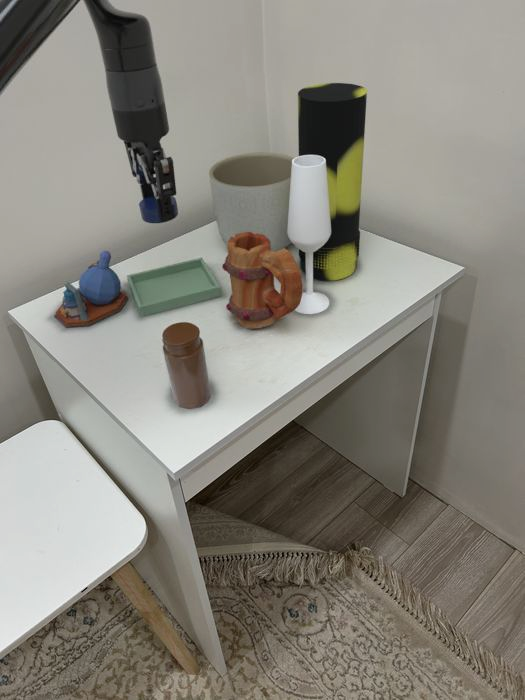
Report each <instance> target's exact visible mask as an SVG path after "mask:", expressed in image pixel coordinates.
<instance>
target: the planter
mask: <svg viewBox="0 0 525 700" xmlns="http://www.w3.org/2000/svg"><path fill="white" fill-rule="evenodd" d="M294 158H295V157H293V156H290V155H288V154H283V153H278V152H266V151H265V152H264V151H261V152H257V151H256V152H247V153H241V154H235V155H233V156H229V157H226V158H224V159H221V160H219V161H217V162H216V163H214V164H213V165H212V166H211V167H210V169H209V171H208V177H209V185H210V192H211V199H212V206H213V212H214V217H215V222H216V226H217V230H218V233H219V236H220V238H221V240H223V242H224V243H225V244H226V245H227V244H228V241H229V239H230V237H234V238H235V235H236V234H239V233H244V232H252V233H253V234H256V233H258V234H263V235H265V236H266V238H268V239H269V240H270V245H271V251H273V252H277V251H279V250H281V249H286V248H287V247H288V246H289V245H290V244H291V243H292V242H291V241H290V239H289V237H288V234H287V228H288V213H289V198H290V184H291V169H292V160H293V159H294Z"/></svg>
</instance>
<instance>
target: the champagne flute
mask: <svg viewBox="0 0 525 700" xmlns="http://www.w3.org/2000/svg"><path fill="white" fill-rule="evenodd" d="M293 158H294V159H293V160H292V169H291V184H290V198H289V213H288V228H287V234H288V237H289V239H290V241H291V243H292V244H293V246H295V248H297V249H298V250H299V249H300V250H302V251H303V252H306V274H305V291H302V298H301V302H300V304H299V306H298V307H297V308H296V309H295V310H294V312H296V313H299V314H304V315H313V314H314V315H315V314H319V313H321V312H324V311H325V310H326V309H328V308H329V306H330V299H329V298H328V297H327V296H326V295H325V294H323V293H321V292H318V291H314V278H313V252H315V251H317V250H318V249H319V248H320V247H322V246H323V245H324V244H325V243H326V242H327V241H328V239H329V237H330V235H331V221H330V209H329V196H328V183H327V170H326V160H325V158H324V157H321V156H318V155H303V156H299V155H298V156H296V157H293Z"/></svg>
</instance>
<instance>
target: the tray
mask: <svg viewBox="0 0 525 700" xmlns="http://www.w3.org/2000/svg"><path fill="white" fill-rule="evenodd" d="M126 280H127V284H128V286H129V289H130V292H131V294H132V295H131V296H132V297H133V299H134V302H135V305H136V308H137V311H138V313H139V316H140V318H143V317H147V316H150V315H155V314H158V313H162V312H166V311H170V310H174V309H178V308H182V307H185V306H190V305H192V304H197V303H201V302H204V301H209V300H212V299H217V298H219V297H222V290H221V286H220V284H219V282H218V281H217V280H216V278H215V276H214V275H213V273H212V271H211V269H210V268H209V266H208V265H207V263H206V262H205V260H204V259H203V257H197V258H194V259H189V260H186V261H185V260H184V261H182V262H177V263H173V264H168V265H165V266H160V267H156V268H152V269H148V270H147V269H146V270H143V271H139V272H136V273H131V274H127V275H126Z"/></svg>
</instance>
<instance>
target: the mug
mask: <svg viewBox="0 0 525 700" xmlns="http://www.w3.org/2000/svg"><path fill="white" fill-rule="evenodd" d="M226 245H227V255H226V256H225V260H224V263H223V264H222V265H221V268H222V270H223V271H224V272H227V273H228V274H229V281H230V287H231V295H230V297H229V299H228V303H227V304H226V306H225V308H226V310H227V311H228V312H230V313H231V314H232V315H233V316H234V319H235V320H236V321H237V322H238V324H239V325H240V326H242V327H244V328H246V329H261V328H266V327H269V326H271V325H273V324H274V323H275V322H277V320H278V319H281V318H284V317H286V316H287V315H289V314H291V313H293V312H295V309H296V308H297V307H298V306H299V304H300V302H301V298H302V292H304V289H303V288H304V284H303V278H302V274H301V268H300V267H299V265H298V262H297V261H296V259H295V258H294V255H293V253H291V252H290V250H288V249H287V248H284V249H281V250H279V251H277V252H273V251H271V245H270V240H269V239H268V238H266V236H265V235H263V234H258V233H256V234H253V233H252V232H244V233H239V234H236V235H235V238H234V237H230V239H229V241H228V244H226ZM275 279H276V280H277V281H278V283H279V284H280V291H278V290H277V289H276V288H275Z"/></svg>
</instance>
